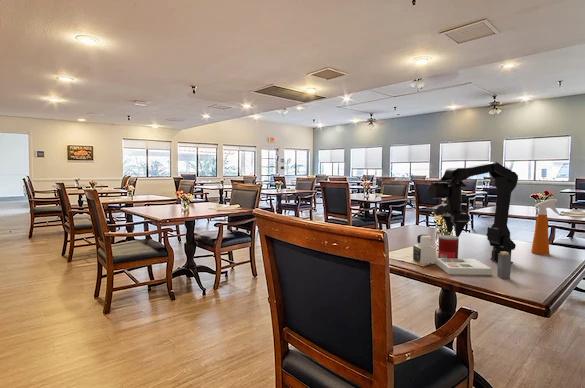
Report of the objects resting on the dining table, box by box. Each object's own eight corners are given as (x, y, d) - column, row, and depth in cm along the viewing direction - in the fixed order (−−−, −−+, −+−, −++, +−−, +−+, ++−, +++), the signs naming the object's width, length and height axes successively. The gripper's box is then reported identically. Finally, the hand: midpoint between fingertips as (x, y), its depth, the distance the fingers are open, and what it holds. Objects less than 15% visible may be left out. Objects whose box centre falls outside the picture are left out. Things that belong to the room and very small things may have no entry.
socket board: (474, 264, 144) (474, 258, 144) (491, 274, 131) (491, 267, 130) (435, 263, 145) (436, 257, 145) (448, 274, 132) (448, 267, 131)
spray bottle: (561, 256, 157) (564, 199, 154) (534, 254, 160) (537, 199, 158) (555, 252, 163) (558, 198, 161) (529, 250, 167) (531, 197, 165)
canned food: (460, 263, 145) (460, 238, 145) (440, 262, 147) (441, 238, 146) (455, 259, 153) (456, 235, 152) (436, 258, 155) (437, 234, 154)
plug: (505, 276, 129) (506, 251, 128) (509, 279, 126) (511, 253, 125) (497, 276, 129) (498, 251, 128) (501, 278, 126) (502, 253, 125)
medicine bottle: (412, 259, 152) (413, 233, 151) (427, 259, 153) (428, 233, 152) (420, 264, 145) (420, 237, 144) (435, 264, 145) (436, 236, 144)
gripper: (427, 196, 152) (426, 230, 153) (441, 200, 133) (440, 239, 135) (453, 195, 151) (452, 230, 152) (471, 200, 132) (470, 239, 133)
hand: (453, 234), depth 143 cm, fingers open, 9 cm apart
